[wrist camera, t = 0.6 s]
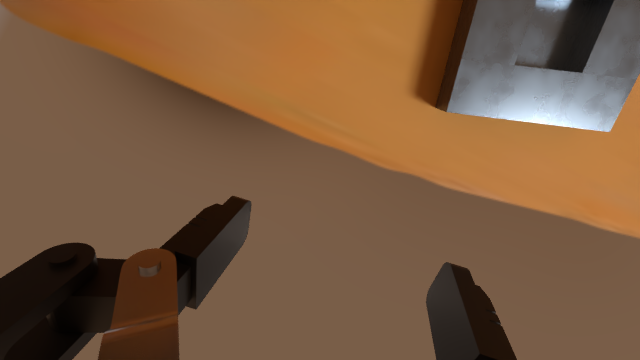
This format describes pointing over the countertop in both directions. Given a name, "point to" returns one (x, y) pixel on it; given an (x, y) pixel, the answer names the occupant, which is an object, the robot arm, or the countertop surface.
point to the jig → (543, 61)
